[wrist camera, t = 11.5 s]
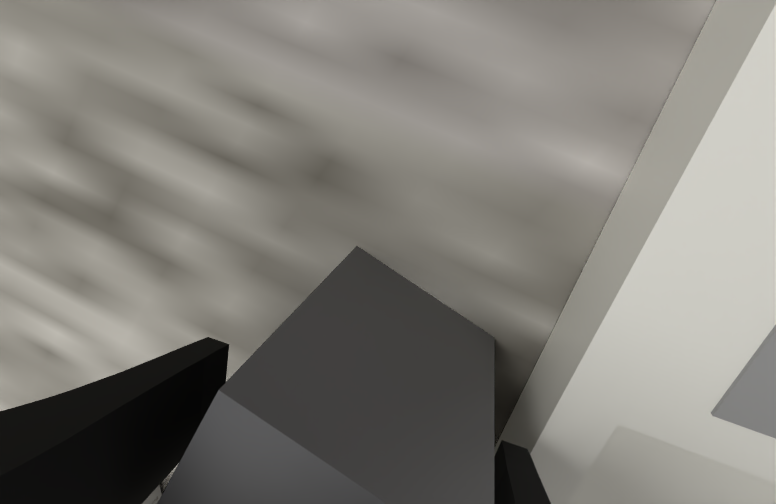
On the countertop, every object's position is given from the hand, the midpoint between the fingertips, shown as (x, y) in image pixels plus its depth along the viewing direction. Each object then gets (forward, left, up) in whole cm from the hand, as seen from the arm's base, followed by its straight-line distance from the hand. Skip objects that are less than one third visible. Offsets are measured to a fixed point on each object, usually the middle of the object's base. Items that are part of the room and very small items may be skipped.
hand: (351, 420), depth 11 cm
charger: (0, 0, -3) cm, 3 cm away
